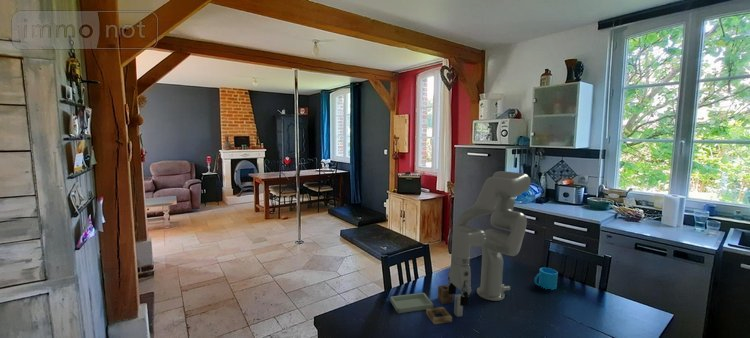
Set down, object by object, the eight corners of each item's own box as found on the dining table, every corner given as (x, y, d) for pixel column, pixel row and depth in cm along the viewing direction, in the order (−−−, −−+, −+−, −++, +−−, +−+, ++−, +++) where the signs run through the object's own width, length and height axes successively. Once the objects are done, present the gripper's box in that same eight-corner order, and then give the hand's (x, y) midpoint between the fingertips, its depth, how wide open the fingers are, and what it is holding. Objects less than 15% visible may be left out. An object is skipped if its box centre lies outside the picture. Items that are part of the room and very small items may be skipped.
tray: (423, 296, 149) (423, 292, 149) (433, 308, 139) (433, 304, 139) (390, 300, 145) (390, 296, 145) (397, 313, 135) (397, 309, 135)
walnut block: (447, 297, 149) (447, 284, 149) (452, 302, 145) (453, 289, 144) (437, 298, 148) (438, 285, 147) (442, 303, 143) (443, 291, 143)
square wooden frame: (443, 311, 137) (443, 306, 137) (452, 321, 130) (452, 317, 129) (425, 313, 135) (426, 309, 135) (434, 324, 128) (434, 319, 127)
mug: (548, 281, 167) (549, 266, 166) (560, 289, 159) (561, 273, 158) (528, 284, 164) (529, 268, 163) (540, 291, 156) (541, 275, 155)
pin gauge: (459, 312, 136) (460, 293, 135) (462, 316, 134) (463, 297, 133) (453, 313, 136) (454, 294, 135) (456, 316, 133) (457, 297, 132)
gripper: (480, 267, 125) (477, 309, 126) (458, 252, 141) (455, 289, 143) (463, 268, 123) (460, 311, 124) (442, 253, 139) (440, 290, 141)
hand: (457, 299), depth 133 cm, fingers open, 9 cm apart
